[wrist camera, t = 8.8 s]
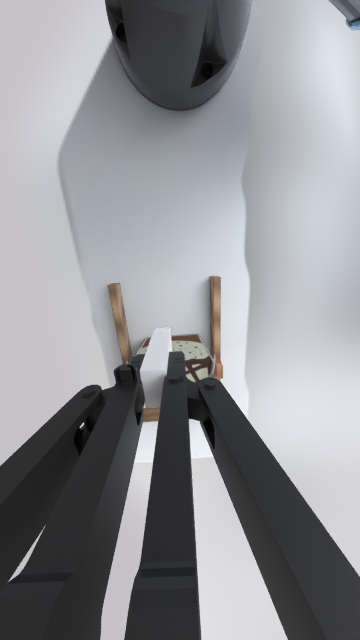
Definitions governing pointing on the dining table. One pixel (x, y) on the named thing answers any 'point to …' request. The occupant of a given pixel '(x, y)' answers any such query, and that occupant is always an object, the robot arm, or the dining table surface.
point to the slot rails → (124, 342)
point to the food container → (189, 355)
